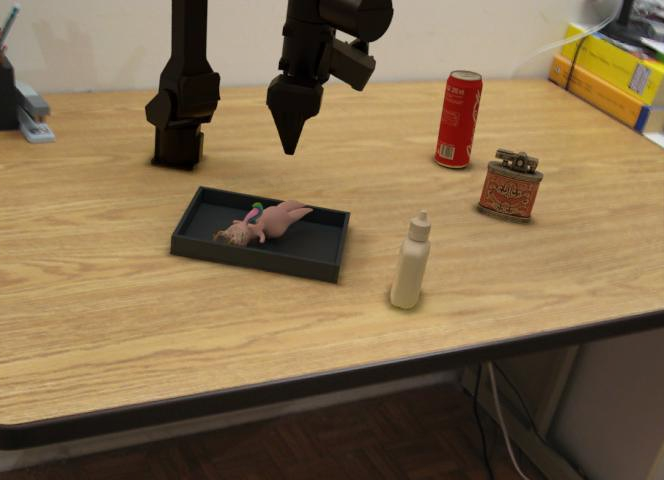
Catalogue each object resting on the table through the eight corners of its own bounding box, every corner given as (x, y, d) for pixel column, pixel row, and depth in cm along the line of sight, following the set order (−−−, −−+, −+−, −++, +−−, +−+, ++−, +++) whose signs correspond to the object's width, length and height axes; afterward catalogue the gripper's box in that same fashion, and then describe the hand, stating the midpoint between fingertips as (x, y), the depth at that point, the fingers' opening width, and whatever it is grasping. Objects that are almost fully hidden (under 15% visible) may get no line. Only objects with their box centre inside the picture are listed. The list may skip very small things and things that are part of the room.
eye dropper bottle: (375, 296, 106) (394, 209, 100) (404, 283, 110) (423, 197, 104) (403, 313, 104) (423, 224, 98) (431, 299, 107) (453, 212, 101)
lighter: (530, 216, 131) (549, 155, 126) (528, 226, 128) (547, 163, 123) (478, 203, 133) (494, 142, 128) (474, 212, 130) (491, 150, 125)
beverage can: (467, 172, 143) (489, 84, 135) (428, 165, 143) (448, 76, 135) (468, 159, 148) (490, 72, 140) (430, 151, 148) (449, 65, 140)
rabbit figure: (234, 270, 109) (324, 227, 117) (232, 231, 106) (325, 189, 113) (205, 248, 113) (294, 208, 121) (202, 209, 109) (294, 170, 117)
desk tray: (170, 253, 109) (171, 235, 108) (198, 202, 122) (199, 185, 121) (336, 284, 108) (340, 266, 106) (347, 228, 121) (350, 212, 119)
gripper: (374, 49, 94) (351, 181, 102) (381, 8, 110) (361, 125, 118) (272, 33, 95) (258, 165, 103) (294, -5, 110) (280, 112, 119)
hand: (294, 140), depth 111 cm, fingers open, 9 cm apart
